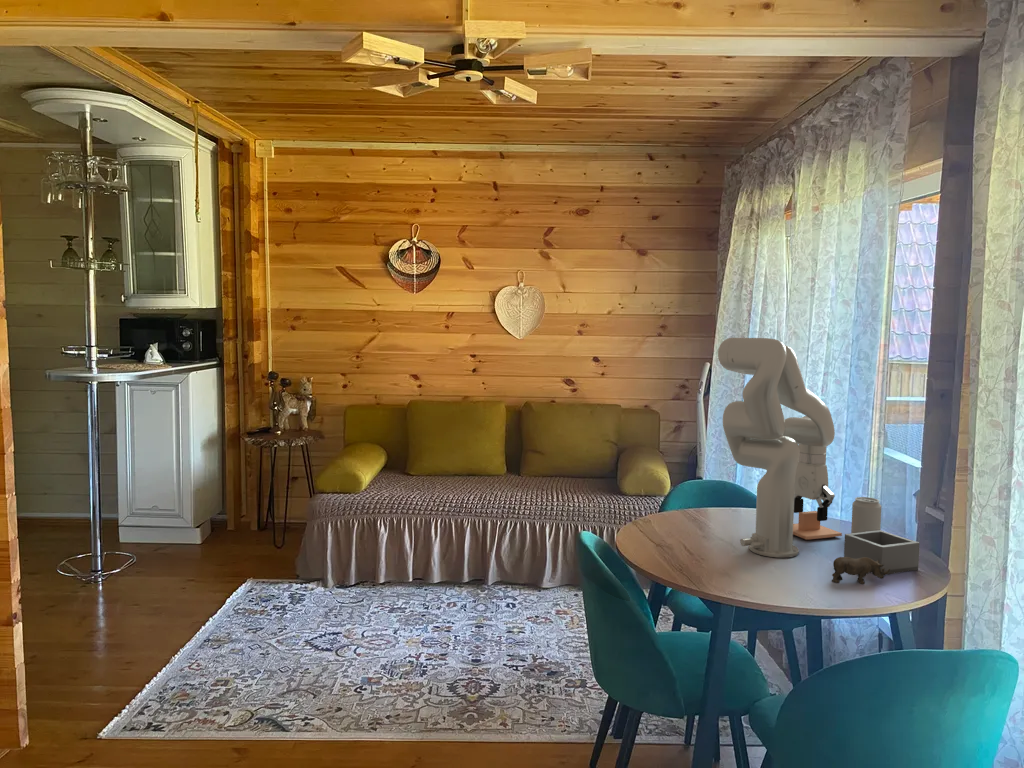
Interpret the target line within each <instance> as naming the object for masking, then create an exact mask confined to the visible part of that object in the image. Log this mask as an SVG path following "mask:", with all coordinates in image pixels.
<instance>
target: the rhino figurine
mask: <svg viewBox="0 0 1024 768" xmlns="http://www.w3.org/2000/svg"><path fill="white" fill-rule="evenodd" d="M879 562H880V561H879V559H878V560H877V561H876V562H875V561H873V560H872V559H870V558H867V557H863V558H858V559H853V558H850V557H844V556H840V557H837V558H835V559H834V560H833V564H832V565H833V570H834V572H833V573H832V575H831V576H832V579H831V582H832V583H838V584H840V580H843V577H842V575H843V574H844V573H846V574H847V575H849V576H857V583H859V584H861V585H864V584H865V583H866V582H865V581H864V580H865V579H864V578H865V577H866V576H867V575H868V574H869V573H871V574H872V575H873V576H875V577H876V578H878V579H880V580H882V579H884V578H885V576H886V574H887V573H889V571H890V569H889V570H888V571H884V570H885V568H883V569H880V567H883V566H884V564H879Z"/></svg>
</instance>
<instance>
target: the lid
mask: <svg viewBox="0 0 1024 768" xmlns="http://www.w3.org/2000/svg"><path fill="white" fill-rule="evenodd" d="M793 536H797V537H799V538H801V539H804V540H805V541H808V540H809V541H810V540H817V539H819V540H820V539H827V538H834V537H842V536H843V533H842V532H840V531H837V530H834V529H832V528H828V527H826V526H823V525H821V521H817V510H811V511H803V512H799V513H798V523H793Z"/></svg>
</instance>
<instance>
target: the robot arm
mask: <svg viewBox="0 0 1024 768" xmlns="http://www.w3.org/2000/svg"><path fill="white" fill-rule="evenodd" d="M717 357H718V361H719V363H720V365H721V367H723V368H724V369H725V370H728V371H731V372H734V373H738V374H742V375H750V376H752V377H751V378H750V380H748V382H747V383H746V384H745V386H744V388H743V390H742V399H743V400H736V401H732V402H730V403H728V404H727V405H726V406H725V408H724V411H723V415H722V428H723V431H724V434H725V438H726V441H727V443H728V446H729V449H730V452H731V455H732V457H733V459H734V461H735V463H737V464H738V465H741V466H744V467H749V468H757V469H762V470H766V472H765V473H764V474H763V476H762V477H761V478H760V479H759V480H758V483H757V487H756V507H755V508H756V509H755V510H756V512H755V532H754V533H753V532H752V534H751V537H750V538H741V539H740V541H739V542H740V545H741V547H746V546H749V547H748V549H749V550H750V551H751V552H752V553H754V554H757V555H758V556H759V555H760V556H764V557H770V558H777V559H778V558H782V559H783V558H785V559H786V558H787V559H788V558H793V557H796V556H798V555H799V551H800V550H799V548H798V546H796V545H794V544H793V543H794V542H793V540H794V534H793V524H794V519H795V517H794V513H795V514H799V512H804V498H805V499H809V500H812V501H813V500H815V501H816V503H817V505H818V507H817V508H816V511H817V521H820V522H826V521H827V520H828V512H829V511H828V508H829V507H831V505H832V503H833V501H834V498H835V495H836V494H834V492H832V491H831V489H830V488H829V473H828V472H829V471H828V467H827V447H828V446H830V445H831V444H833V441H834V439H835V437H836V436H835V435H836V432H835V425H834V421H833V418H832V413H831V411H830V408H829V407H828V406H827V405H826V403H825V402H824V401H822V399H820V397H818V396H817V395H816V394H815V393H814V392H812V391H811V390H809V389H808V388H807V387H806V385H805V382H804V377H803V375H802V371H801V369H800V365H799V362H798V358H797V355H796V352H795V351H794V350H793V348H792V347H790V346H788V345H785V344H784V342H783V341H781V340H779V339H775V338H770V337H769V338H768V337H728V338H726V339H724V340H723V341H722V342H721V343H720V344H719V347H718V350H717ZM782 406H784V407H786V408H788V409H790V410H791V411H792V410H793V411H795V412H798V413H799V414H802V415H803V416H801V417H795V416H794V417H793V416H789V417H787V418H785V416H784V412H783V409H782V408H783V407H782Z"/></svg>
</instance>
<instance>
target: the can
mask: <svg viewBox="0 0 1024 768" xmlns="http://www.w3.org/2000/svg"><path fill="white" fill-rule="evenodd" d="M851 511H852V512H851V527H850V528H851V530H850V531H851V532H850V534H851V533H859V532H868V531H876V530H881V524H882V504H880V499H877V498H873V497H868V496H858V497H855V498H854V501H853V502H852V508H851Z"/></svg>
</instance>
